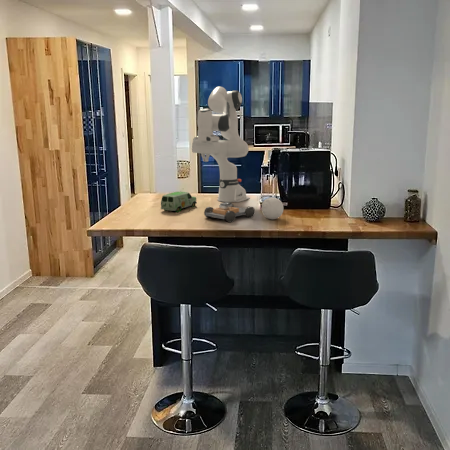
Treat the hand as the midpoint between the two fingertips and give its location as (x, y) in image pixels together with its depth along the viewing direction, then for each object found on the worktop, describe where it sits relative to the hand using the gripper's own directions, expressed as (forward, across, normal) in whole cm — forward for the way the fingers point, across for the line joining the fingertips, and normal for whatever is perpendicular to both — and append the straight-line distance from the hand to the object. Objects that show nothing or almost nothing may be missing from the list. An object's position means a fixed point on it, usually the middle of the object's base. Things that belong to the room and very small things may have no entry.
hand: (205, 161), depth 297 cm
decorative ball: (+29, +44, +8) cm, 53 cm away
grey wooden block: (+26, +24, -8) cm, 36 cm away
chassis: (+29, +24, -5) cm, 38 cm away
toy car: (+29, -15, -8) cm, 34 cm away
